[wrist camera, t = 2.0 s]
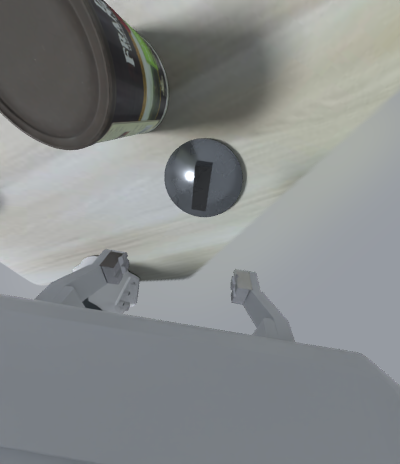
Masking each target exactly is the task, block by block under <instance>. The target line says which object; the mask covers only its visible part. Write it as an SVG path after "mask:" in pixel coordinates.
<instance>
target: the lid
mask: <svg viewBox="0 0 400 464" xmlns="http://www.w3.org/2000/svg"><path fill="white" fill-rule="evenodd" d="M242 179H243V178H242V170H241V167H240V164H239V161H238V159H237V158H236V156H235V155H234V153H233V152H232V151H231V150H230V149H229V148H228V147H227V146H225V145H224V144H222V143H220V142H218V141H216V140H212V139H206V138H201V139H194V140H191V141H188V142H186V143H184V144H183V145H181V146H180V147H179V148H177V149H176V150H175V151H174V152H173V154H172V155H171V157H170V158H169V160H168V162H167V165H166V168H165V186H166V189H167V192H168V194H169V196H170V198H171V199H172V201H173V202H174V203H175V204H176V205H177V206H178V207H179V208H180V209H181V210H183V211H184V212H186V213H188V214H191V215H194V216H198V217H211V216H215V215H218V214H221V213H222V212H224V211H226V210H227V209H229V208H230V207H231V206H232V205H233V204H234V202H235V201H236V200H237V198H238V196H239V194H240V191H241V188H242Z"/></svg>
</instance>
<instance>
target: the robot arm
mask: <svg viewBox="0 0 400 464" xmlns="http://www.w3.org/2000/svg"><path fill="white" fill-rule="evenodd" d="M127 256H128V255H127V253H126V252H121V251H115V250H109V249H105V250H104V251H103V252H102V253H101V254H100V255H99V256H90V257H87V258H85V259H83V260H82V262H81V263H80V265H78V266H75V267H74V269H73V270H72V271H73V273H71V274H68V275H66V276H64V277H62V278H60V279H58V280H56V281H54V282H52V283H51V284H50V285H48V286H47V288H45V290H44V291H42V292H41V293H40V294H39V295H38V296H37V297H36V299H27V298H22V297H16V296H10V295H4V294H0V464H400V385H399V384H397V383H396V382H395V381H394V380H393V379H392V378H391V377H390V376H388V375H387V374H386V373H385V372H384V371H383V370H382V369H380V368H379V367H378V366H377V365H376V364H375V363H373V362H372V361H371V360H369V359H368V358H367V357H366V356H364V355H363V354H360V353H358V352H353V351H347V350H340V349H334V348H327V347H322V346H316V345H308V344H303V343H297V342H295V340H294V337H293V334H292V331H291V328H290V325H289V322H288V320H287V319H286V318H285V317H284V316H283V314H282V313H281V312H280V311H279V310H278V309H277V308H276V307H275V305H274V304H273V303H272V302H271V301H270V300H269V299H268V297H267V296H266V295H265V294H264V293H263V292H261V291H260V286H259V282H258V278H257V274H256V272H251V271H244V270H237V269H235V270H234V276H232V279H231V290H232V293H231V301H232V303H236V304H242V305H243V306H244V308H245V309H246V311H247V313H248V314H249V316H250V318H251V319H252V321H253V323H254V324H255V326H256V327H257V329H256V330H255V332H254V333H253V334H252V335H247V334H242V333H235V332H230V331H223V330H217V329H211V328H205V327H199V326H193V325H187V324H181V323H174V322H169V321H162V320H156V319H150V318H144V317H137V316H132V315H125V314H123V313H124V311H128V309H129V307H130V306H135V305H136V303H137V297H138V289H139V281H140V279H139V278H138V277H137V276H135V275H134V274H132V273H130V272H129V271H128V267H129V260H128V259H127Z"/></svg>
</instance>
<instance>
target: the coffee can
mask: <svg viewBox="0 0 400 464" xmlns="http://www.w3.org/2000/svg"><path fill="white" fill-rule="evenodd" d="M168 98H169V90H168V81H167V77H166V73H165V70H164V67H163V65H162V62H161V60H160V58H159V57H158V55H157V53H156V52H155V50H154V49H153V47H152V46H151V45H150V44H149V43H148V42H147V41H146V40H145V39H144V38H143V37H141V36H140V35H139V34H138V33H137V32H136V31H135V30H134V29H132V28H131V27H130V26H129V25H128V24H127V23H126V22H125V21H124V20H123V19H122V18H121V17H120V16H119V15H118V14H117V13H116V12H115V11H114V10H113V9H112V8H111V7H110V6H109V5H108V4H107V3H106V2H105V1H104V0H0V113H1V114H2V115H3V116H4V117H6V118H7V119H8V120H9V121H10V122H11V123H12V124H13V125H15V126H16V127H17V128H18V129H20V130H21V131H22V132H24V133H26V134H27V135H28V136H30V137H32V138H33V139H35V140H37V141H39V142H41V143H43V144H46V145H48V146H51V147H54V148H58V149H63V150H78V149H82V148H85V147H88V146H91V145H93V144H95V143H99V142H104V141H109V140H113V139H118V138H122V137H126V136H131V135H135V134H143V133H147V132H150V131H152V130H153V129H155V128H156V127H157V126H158V125H159V124H160V123H161V121H162V120H163V118H164V115H165V113H166V110H167V106H168Z"/></svg>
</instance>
